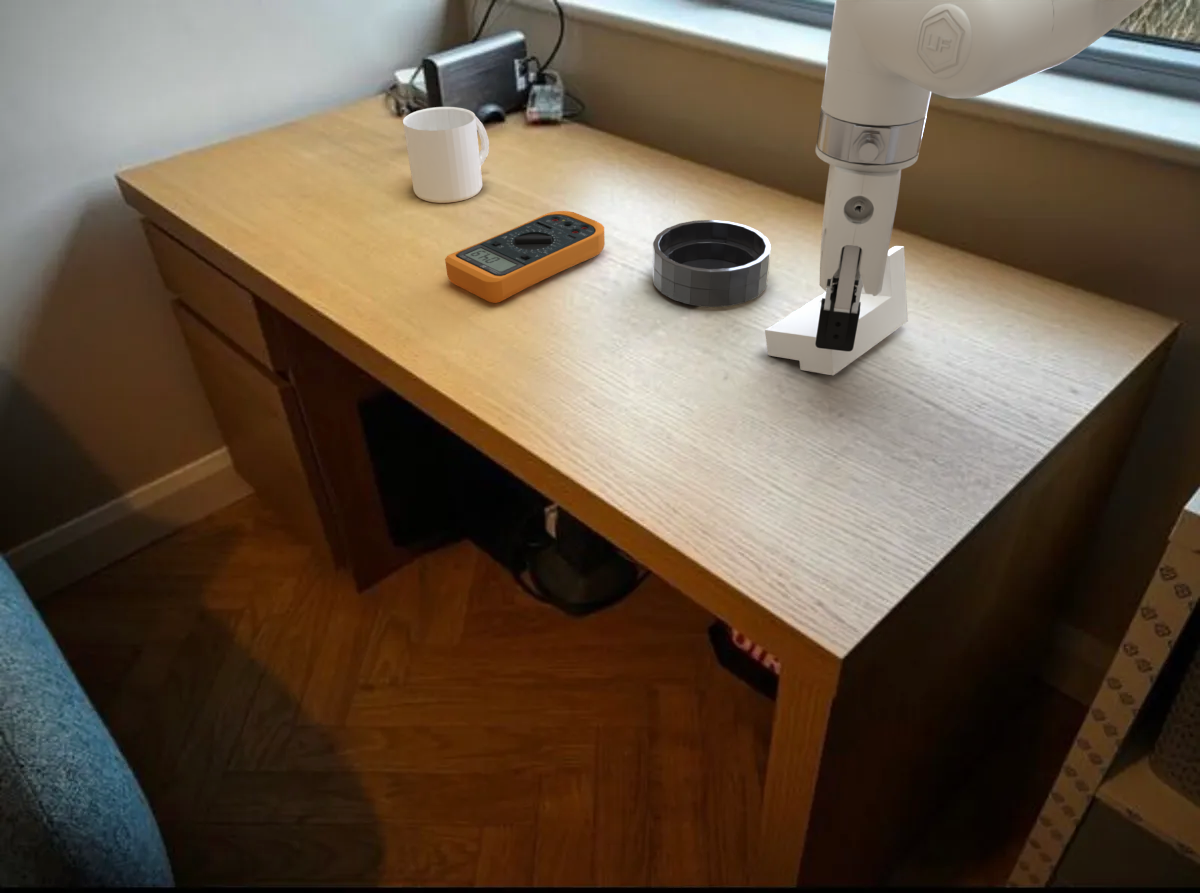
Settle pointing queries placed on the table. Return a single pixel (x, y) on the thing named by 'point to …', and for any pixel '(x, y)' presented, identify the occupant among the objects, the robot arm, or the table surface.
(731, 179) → the table surface
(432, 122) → the mug
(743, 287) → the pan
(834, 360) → the bracket
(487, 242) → the multimeter
